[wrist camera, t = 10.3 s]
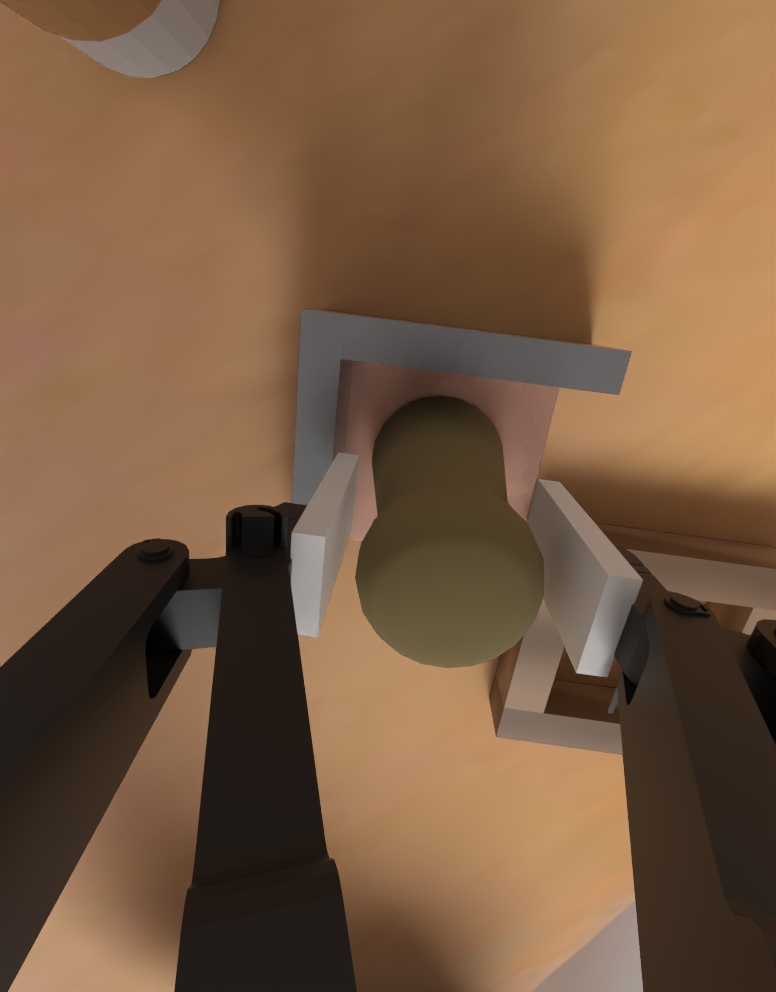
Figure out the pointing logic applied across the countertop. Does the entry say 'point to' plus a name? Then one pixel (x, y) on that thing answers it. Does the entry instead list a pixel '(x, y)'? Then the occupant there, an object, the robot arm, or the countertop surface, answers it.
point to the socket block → (584, 708)
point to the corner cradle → (430, 392)
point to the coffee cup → (127, 30)
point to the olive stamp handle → (446, 540)
